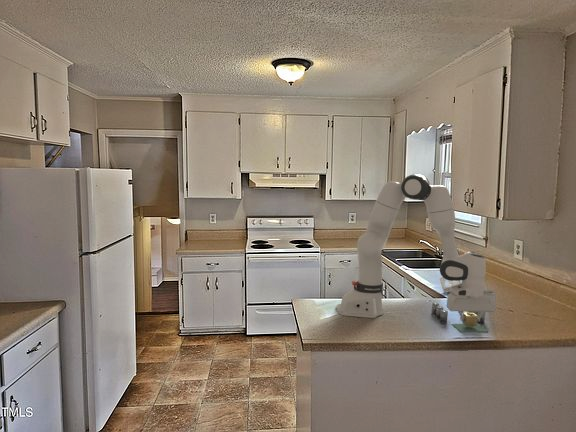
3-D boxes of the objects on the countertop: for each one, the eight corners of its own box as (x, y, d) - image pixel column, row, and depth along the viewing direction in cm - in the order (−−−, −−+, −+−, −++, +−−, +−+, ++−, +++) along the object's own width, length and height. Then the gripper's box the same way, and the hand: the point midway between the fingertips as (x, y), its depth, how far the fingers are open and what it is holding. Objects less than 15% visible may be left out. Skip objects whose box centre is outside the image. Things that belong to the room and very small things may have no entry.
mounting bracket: (458, 293, 227) (452, 275, 230) (467, 292, 222) (461, 273, 225) (444, 296, 221) (439, 277, 224) (453, 295, 216) (448, 275, 219)
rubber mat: (459, 331, 167) (459, 330, 167) (451, 324, 175) (451, 323, 175) (487, 332, 167) (487, 331, 167) (478, 325, 175) (478, 324, 175)
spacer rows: (441, 323, 176) (442, 312, 176) (430, 312, 189) (431, 302, 189) (485, 323, 177) (486, 313, 176) (471, 313, 190) (472, 303, 189)
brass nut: (467, 327, 168) (467, 316, 168) (460, 321, 174) (461, 311, 173) (478, 327, 168) (479, 316, 168) (472, 322, 174) (473, 312, 173)
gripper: (492, 288, 173) (489, 318, 174) (446, 287, 172) (444, 317, 174) (500, 292, 166) (497, 324, 168) (452, 291, 166) (450, 323, 168)
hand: (469, 320), depth 171 cm, fingers closed on brass nut, 5 cm apart
